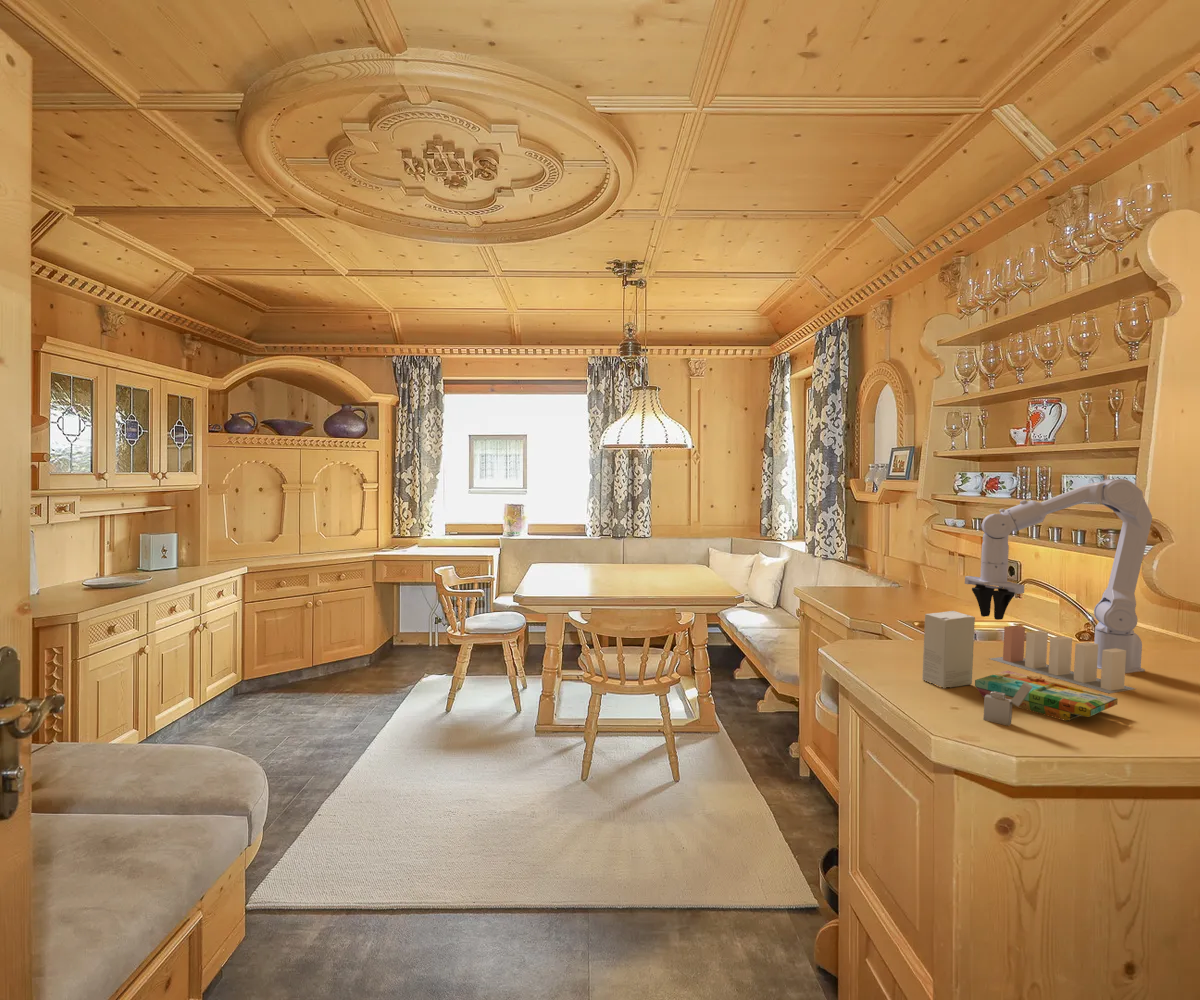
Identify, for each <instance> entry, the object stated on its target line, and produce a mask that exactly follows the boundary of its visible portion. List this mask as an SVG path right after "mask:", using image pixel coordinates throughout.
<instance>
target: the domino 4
mask: <svg viewBox="0 0 1200 1000" xmlns="http://www.w3.org/2000/svg"><path fill="white" fill-rule="evenodd" d="M1074 645H1075V648H1074V666H1073V667H1074V668H1073V672H1074V680H1075V681H1078V682H1082V683H1085V682H1092V681H1096V678H1098V677H1097V676H1098V668H1097V660H1098V644H1095V643H1094V642H1090V641H1086V642H1078V643H1077V642H1076V643H1075V644H1074Z"/></svg>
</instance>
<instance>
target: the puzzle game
mask: <svg viewBox="0 0 1200 1000" xmlns="http://www.w3.org/2000/svg"><path fill="white" fill-rule="evenodd" d="M1024 682H1026V683H1028V684H1029V685H1031V686H1032V689H1031V690H1030V691H1029V693H1028V694H1027V696H1026V697H1025V699H1024V700H1023V701H1022V703H1021V704H1020V705H1019V706H1018V707H1017V706H1016V705H1014V704H1013V703H1012V707H1015V706H1016V707H1015V708H1019V709H1022V708H1023V709H1022V710H1026V709H1028V710H1027V711H1029V710H1031V712H1033V711H1034V712H1033V713H1037V712H1038V713H1037V714H1040V713H1041V714H1040V715H1044V714H1045V716H1047V715H1049V716H1048V717H1051V716H1053V717H1052V718H1054V717H1056V718H1055V719H1058V718H1060V719H1059V720H1062V719H1064V720H1063V721H1065V720H1069V721H1071V719H1072V720H1074V719H1076V718H1079V717H1083V718H1084V717H1085V718H1088V717H1092V716H1094V715H1096V714H1098V713H1100V712H1103V711H1105V710H1107V709H1111V708H1112V707H1114V706H1115V707H1116V705H1118V700H1119V699H1118V698H1117V697H1114V696H1111V695H1110V696H1109V695H1106V694H1102V693H1098V692H1095V691H1090V690H1086V689H1082V688H1077V687H1074V686H1072V685H1071V686H1070V685H1066V684H1062V683H1058V682H1055V681H1051V680H1047V679H1046V680H1045V678H1042V676H1037V675H1035V676H1033V675H1027V674H1023V673H1018V672H1015V671H1010V670H1003V671H1001V672H997V673H995V674H990V675H988V676H984V677H981V678H978V679H974V687H975V688H976V690H977V691H978V693H979V694H980V695H981V696H982V698H983V697H984V698H985V695H990V692H994V691H996V692H1000V693H1005V698H1006V699H1011V700H1012V699H1013V697H1014V696H1015V694H1016V693H1017V692H1018V690H1019V689H1020V687H1021V686H1022V684H1023V683H1024ZM984 698H983V699H984ZM1078 716H1079V717H1078ZM1075 717H1076V718H1075ZM1073 718H1074V719H1073Z"/></svg>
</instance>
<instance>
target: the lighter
mask: <svg viewBox="0 0 1200 1000" xmlns="http://www.w3.org/2000/svg"><path fill="white" fill-rule="evenodd" d="M1031 689H1032V686H1031V685H1029V684H1028V683H1026V682H1024V683H1023V684H1022V686H1021V687H1020V689H1019V690H1018V692H1017V693H1016V694H1015V696H1014V697H1013V699H1012V700H1011V699H1006V698H1005V693H1000V692H996V691H994V692H990V695H985V698H983V699H984V702H983V718H982V719H983V721H987V722H989V723H990V722H991V723H995V724H999V725H1004V726H1007V725H1008V726H1007V727H1009V726H1011V725H1012V715H1013V706H1012V703H1013V704H1014V705H1016V706H1017V707H1016V708H1019V707H1018V706H1019V705H1020V704H1021V703H1022V701H1023V700H1024V699H1025V697H1026V696H1027V694H1028V693H1029V691H1030V690H1031Z"/></svg>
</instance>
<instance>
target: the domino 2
mask: <svg viewBox="0 0 1200 1000" xmlns="http://www.w3.org/2000/svg"><path fill="white" fill-rule="evenodd" d="M1048 635H1049V632H1048V631H1042V630H1032V631H1026V633H1025V636H1026V637H1025V653H1024V654H1025V655H1024V656H1025V657H1024V658H1025V666H1026V667H1029V668H1033V669H1035V668H1042V667H1046V664H1047V658H1048V657H1047V656H1048V639H1049V636H1048Z"/></svg>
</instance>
